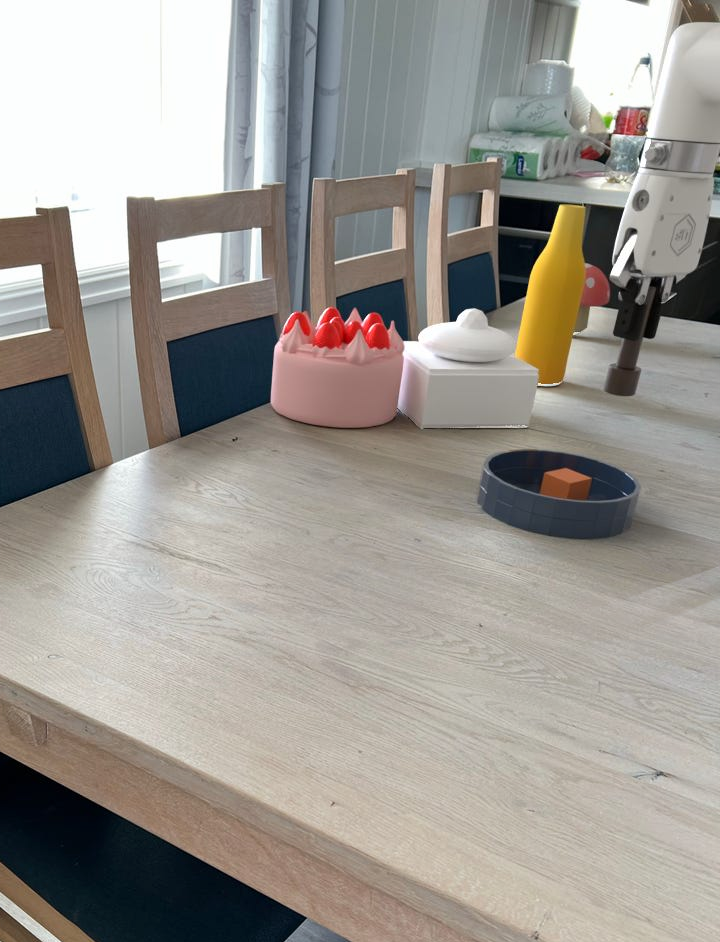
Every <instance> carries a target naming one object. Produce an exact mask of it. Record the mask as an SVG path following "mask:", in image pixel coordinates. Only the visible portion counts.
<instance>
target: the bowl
mask: <svg viewBox="0 0 720 942" xmlns="http://www.w3.org/2000/svg"><path fill="white" fill-rule="evenodd" d="M564 468H567V469H570V470H572V471H575V472H578V473H580V474H583V475H585V476H588V477H590V478H592V481H591V485H590V489H589V493H588V497H587V501H579V500H571V499H562V498H556V497H551V496H546V495H542V494H540V491H541V486H542V482H543V477H544V473H545V472H550V471H554V470H559V469H564ZM641 490H642V486H641V483H640V481H639V479H637V477H635V476H634V475H633V474H632V473H630V472H628V471H627V470H625V469H623V468H621V467H619V466H617V465H614V464H612V463H610V462H607V461H604V460H601V459H598V458H594V457H590V456H586V455H583V454H579V453H573V452H567V451H560V450H552V449H539V448H538V449H537V448H518V449H508V450H503V451H498V452H495V453H493V454H491V455H489V456H487V457H486V458H485V459H484V461H483V462H482V467H481V472H480V476H479V483H478V488H477V493H476V501H477V504H478V506H479V507H480V509H481V510H483V512H485V513H486V514H487V515H489V516H490V517H492V518H493V519H494V520H495V519H496V520H497V521H499V522H501V523H504V524H506V525H508V526H511V527H513V528H516V529H519V530H521V531H526V532H529V533H534V534H537V535H543V536H547V537H554V538H560V539H568V540H569V539H570V540H601V539H606V538H607V539H608V538H613V537H616V536H619V535H622V534H624V533H625V532H626V531H628V530H629V529H630V528H631V526H632V522H633V519H634V516H635V511H636V507H637V504H638V501H639V497H640V493H641Z"/></svg>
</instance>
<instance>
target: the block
mask: <svg viewBox="0 0 720 942" xmlns="http://www.w3.org/2000/svg"><path fill="white" fill-rule="evenodd" d="M591 481H592V478H590V477H588V476H585V475H583V474H580V473H578V472H575V471H572V470H570V469H567V468H564V469H559V470H554V471H550V472H545V473H544V477H543V482H542V486H541V491H540V494H542V495H546V496H551V497H556V498H562V499H571V500H579V501H587V497H588V493H589V489H590V485H591Z"/></svg>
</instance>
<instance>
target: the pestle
mask: <svg viewBox="0 0 720 942" xmlns="http://www.w3.org/2000/svg"><path fill="white" fill-rule="evenodd" d="M638 286H639V284H638ZM655 291H656V288H655V287H652V286H649V288H648V292H647V295H646V299H645V301H644V303H643V304H646V305H647V309H646V313H645V317H644V321H643V325H642V329H641V333H640V336H639V339H638V340H637V341H631V340H627V339H623V338H621V339H622V340H621V344H620V348H619V351H618V355H617V360H616V363H614V362H613V363H611V364H609V365H608V370H607V374H606V378H605V382H604V387H603V391H604V392H605V393H607V394H610V395H613V396H616V397H617V396H618V397H634V396H635V395H636V392H637V389H638V385H639V381H640V377H641V373H642V368H641V367H639V366H637V365H638V360H639V356H640V353H641V348H642V345H643V341H644V338H643V337H644V333H645V330H646V326H647V322H648V318H649V314H650V310H651V306H652V303H653V299H654V295H655Z"/></svg>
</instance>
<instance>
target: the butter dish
mask: <svg viewBox="0 0 720 942" xmlns="http://www.w3.org/2000/svg"><path fill="white" fill-rule="evenodd" d="M488 323H489V322H488V317H487V316H486V314H485V313H484V311H483V310H480V309H479V308H478V309H477V308H475V307H473V308H467V309H465V310H464V311H462V312H461V313H460V314H459V315H458V316H457V319H456V321H451V322H450V321H449V322H442V323H441V322H440V323H436V324H433V325H429V326H428V327H426V328H424V329H423V330H421V331H420V333H418V337H417V338H418V340H416V341H415V340H413V341H412V340H402V341H403V343H404V346H405V349H404V352H403V356H404V364H403V371H402V379H401V386H400V393H399V400H398V407H397V408H398V409H399V410H400V411H401V412H403V413H404V414H405V415H406V416H407V417H409V418H410V419H411V420H412V421H413V422H415V423H416V424H417V425H418V426H419V427H421V428H450V427H451V428H453V427H454V428H455V427H457V428H458V427H477V426H479V427H480V426H506V425H507V426H510V425H512V426H513V425H514V426H515V425H517V426H518V425H520V426H522V425H525V426H528V427H529V425H530V422H531V418H532V413H533V408H534V403H535V398H536V395H537V389H538V387H537V385H538V380H539V375H538V372H539V369H537V368H535V367H533V366H531V365H530V364H528V363H526V362H524V361H523V360H521V359H519V358H517V357H515V351H516V347H517V342H516V341H515V339H514V338H513V337H512V336H511V335H510V334H509V333H507V332H505V331H503V330H501V329H499V328H496V327H493V326H489V324H488ZM398 409H397V410H398ZM399 410H398V411H399ZM400 411H399V412H400ZM401 412H400V413H401ZM403 413H402V414H403ZM404 414H403V415H404ZM405 415H404V416H405ZM406 416H405V417H406ZM407 417H406V418H407ZM410 419H409V420H410ZM411 420H410V421H411ZM412 421H411V422H412ZM413 422H412V423H413ZM417 425H416V426H417ZM418 426H417V427H418ZM419 427H418V428H419Z"/></svg>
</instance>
